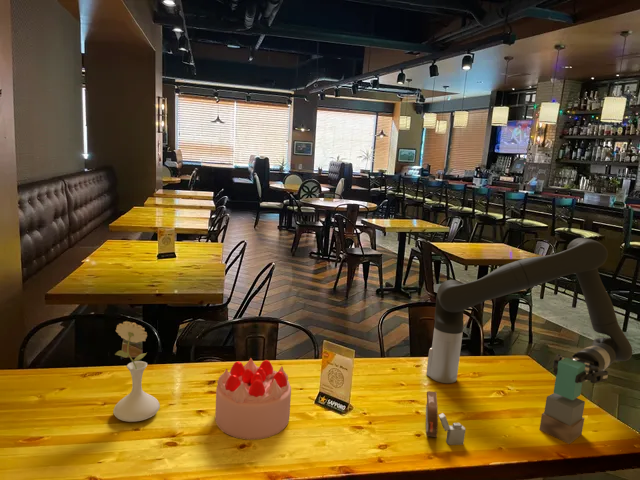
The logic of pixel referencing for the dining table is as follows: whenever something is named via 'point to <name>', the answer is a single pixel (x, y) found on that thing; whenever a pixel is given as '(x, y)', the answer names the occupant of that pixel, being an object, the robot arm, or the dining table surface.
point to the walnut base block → (561, 428)
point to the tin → (431, 414)
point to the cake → (252, 400)
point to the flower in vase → (135, 380)
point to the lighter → (453, 431)
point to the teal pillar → (568, 378)
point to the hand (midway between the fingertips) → (566, 375)
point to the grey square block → (564, 408)
